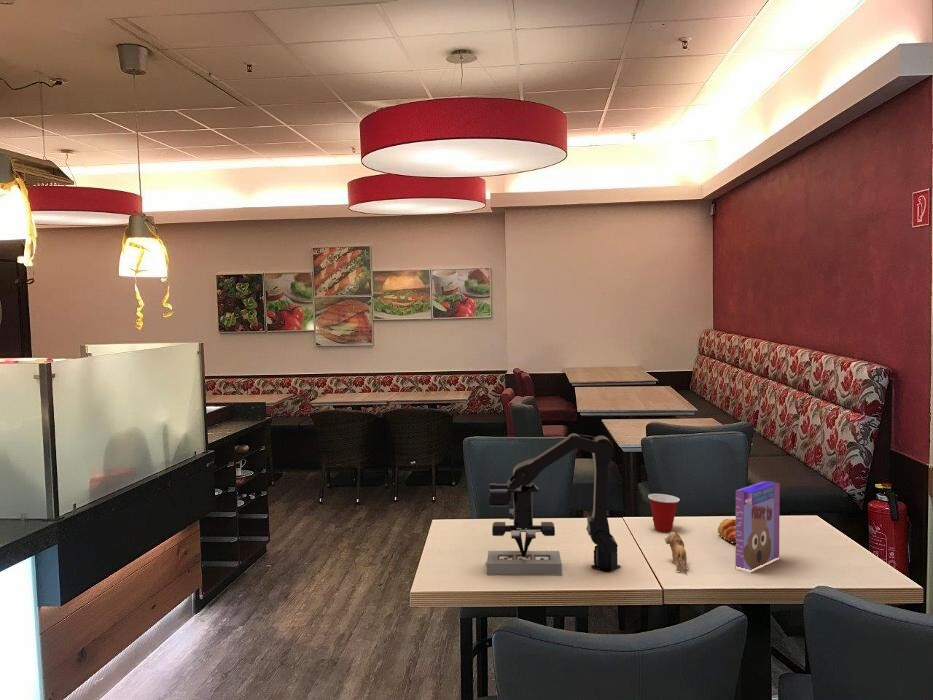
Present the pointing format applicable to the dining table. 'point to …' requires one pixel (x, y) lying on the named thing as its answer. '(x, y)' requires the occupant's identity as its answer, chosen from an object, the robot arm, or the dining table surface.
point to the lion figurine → (677, 550)
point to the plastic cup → (663, 511)
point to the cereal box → (757, 524)
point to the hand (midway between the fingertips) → (523, 556)
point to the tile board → (524, 563)
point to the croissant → (728, 529)
